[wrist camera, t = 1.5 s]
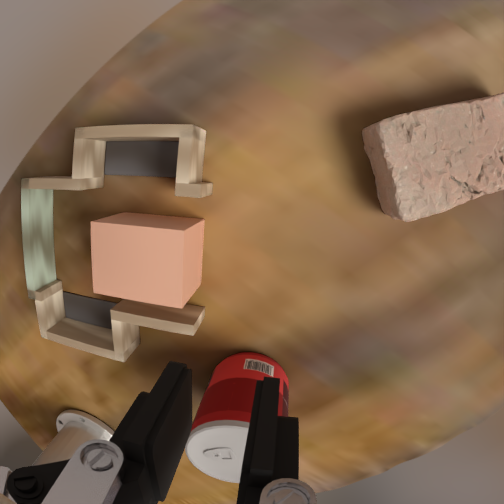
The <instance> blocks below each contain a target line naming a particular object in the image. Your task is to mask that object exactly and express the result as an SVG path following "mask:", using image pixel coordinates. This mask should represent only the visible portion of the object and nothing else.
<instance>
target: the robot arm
mask: <svg viewBox="0 0 504 504" xmlns="http://www.w3.org/2000/svg"><path fill="white" fill-rule="evenodd" d="M279 388H280V378H274V377H265V376H264V379H263V380H257V382H256V388H255V394H254V400H253V406H252V412H251V418H250V423H249V429H248V435H247V440H246V446H245V451H244V457H243V463H242V469H241V476H240V483H239V490H238V498H237V504H317V500H316V495H315V492H314V491H313V489H312V488H311V487H310V486H309V485H308V484H306V483H304V482H302V481H300V480H298V472H299V422H298V418H296V417H285V416H278V404H279ZM56 426H57V430H58V432H59V433H58V434H57V435H56V436H55V437H54V439H53V440H52V441H51V442H50V444H49V445H48V446H47V447H46V449H45V450H44V451H43V452H42V454H41V455H40V456H39V457H38V458H37V460H36V461H35V462H34V464H33V465H32V466H30V467H22V468H19V469H16V470H15V471H10V469H9V468H7V467H2V466H0V504H157V503H158V501H162V502H163V501H164V500H165V498H166V495H167V493H168V490H169V488H170V485H171V482H172V480H173V477H174V475H175V472H176V469H177V467H178V464H179V462H180V459H181V456H182V454H183V451H184V448H185V446H186V443H187V441H188V438H189V435H190V433H191V429H192V370H191V369H187V365H186V364H183V363H178V362H173V361H170V362H169V363H168V364H167V366H166V368H165V369H164V371H163V373H162V374H161V376H160V377H159V379H158V381H157V382H156V384H155V386H154V387H153V389H152V390H151V392H150V393H147V392H141V393H140V394H139V395H138V397H137V398H136V400H135V401H134V403H133V404H132V406H131V407H130V409H129V410H128V412H127V414H126V415H125V417H124V418H123V420H122V421H121V423H120V424H119V426H118V427H117V429H116V431H115V432H114V431H113V430H112V429H111V428H110V427H108V426H107V425H106V424H105V423H103V422H102V421H100V420H99V419H97V418H95V417H93V416H91V415H89V414H87V413H85V412H82V411H78V410H71V409H70V410H65V411H63V412H62V413H61V414H60V415H59V416H58V417H57V420H56Z"/></svg>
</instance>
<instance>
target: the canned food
mask: <svg viewBox="0 0 504 504" xmlns="http://www.w3.org/2000/svg"><path fill="white" fill-rule="evenodd" d="M264 376H265V377H274V378H280V388H279V404H278V416H285V417H288V391H289V382H288V379H287V376H286V374H285V372H284V370H283V369H282V367H281V366H280V365H279V364H278V363H277V362H276V361H274V360H273V359H272V358H270V357H268V356H265V355H262V354H259V353H253V352H243V353H237V354H234V355H231V356H229V357H227V358H225V359H224V360H223V361H222V362H221V363H219V364H218V365H217V366H216V368H215V369H214V370H213V373H212V375H211V378H210V380H209V383H208V385H207V388H206V391H205V393H204V396H203V398H202V401H201V403H200V406H199V408H198V411H197V413H196V416H195V419H194V421H193V424H192V429H191V433H190V435H189V438H188V441H187V443H186V446H185V451H186V454H187V457H188V458H189V460H190V462H191V463H192V464H193V465H194V466H195V467H196V468H198V469H199V470H200V471H202V472H204V473H205V474H207V475H209V476H211V477H214V478H216V479H220V480H223V481H228V482H233V483H240V476H241V469H242V463H243V457H244V451H245V446H246V440H247V435H248V429H249V423H250V418H251V412H252V406H253V400H254V394H255V388H256V382H257V380H263V379H264Z"/></svg>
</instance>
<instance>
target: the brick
mask: <svg viewBox="0 0 504 504" xmlns="http://www.w3.org/2000/svg"><path fill="white" fill-rule="evenodd" d="M362 137H363V142H364V150H365V152H366V154H367V155H368V158H369V159H370V163H371V166H372V170H373V174H374V175H375V178H376V180H375V183H376V187H377V196H378V199H379V201H380V205H381V209H382V210H383V212H384V213H385V214H386V215H389V216H391V217H392V218H393V219H400V220H404V221H405V222H410V221H414V220H417V219H419V218H422V217H428V216H431V215H433V214H438V213H441V212H445V211H447V210H449V209H451V208H453V207H455V206H457V205H460V204H464V203H465V202H467V201H469V200H473V199H476V198H478V197H480V196H482V195H485V194H491V193H494V192H497V191H501V190H504V93H501V94H497V95H492V96H487V97H483V98H478V99H472V100H467V101H461V102H456V103H451V104H445V105H439V106H433V107H429V108H425V109H421V110H416V111H413V112H408V113H404V114H399V115H396V116H393V117H389V118H386V119H383V120H381V121H379V122H377V123H374V124H371V125H370V126H368V127H365V128H364V129H363V130H362Z"/></svg>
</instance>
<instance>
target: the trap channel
mask: <svg viewBox="0 0 504 504" xmlns="http://www.w3.org/2000/svg"><path fill="white" fill-rule="evenodd" d="M205 139H206V131H205V130H203V129H201V128H199V127H197V126H195V125H190V124H139V125H111V126H94V127H80V128H75V138H74V150H73V166H72V176H45V177H33V178H23V179H21V217H22V239H23V253H24V264H25V273H26V282H27V289H28V296H29V298H31V299H34V300H35V304H36V310H37V316H38V322H39V328H40V333H41V337H43V338H46V339H49V340H52V341H55V342H58V343H61V344H64V345H67V346H70V347H73V348H76V349H79V350H83V351H86V352H89V353H93V354H96V355H100V356H103V357H107V358H110V359H114V360H118V361H121V362H125V361H126V360H127V358H128V357H129V356H130V355H131V354H132V352H133V351H134V350H135V349H136V348H137V346H138V345H139V344H140V333H139V326H144V327H149V328H154V329H159V330H164V331H169V332H175V333H180V334H186V335H191V336H194V334H195V332H196V331H197V329H198V327H199V325H200V324H201V322H202V320H203V318H204V317H205V307H202V306H195V305H189V304H185V305H184V307H183V308H182V309H181V308H174V307H168V306H162V305H156V304H151V303H145V302H139V301H134V300H129V299H123V300H121V301H120V302H119V303H114V302H109V301H104V300H100V299H95V298H90V297H86V296H81V295H77V294H73V293H68V292H63V290H62V281H60V280H56V269H55V255H54V236H53V189H57V190H86V189H94V188H102V187H103V182H104V164H105V175H134V176H157V177H175V178H176V185H175V196H183V197H195V198H201V197H205V196H208V195H212V188H213V183H208V182H202V173H203V161H204V150H205ZM106 141H108V142H107V146H106ZM175 141H179V142H175ZM105 150H106V159H105ZM63 298H64V299H63ZM64 306H65V307H64ZM65 314H66V315H65Z"/></svg>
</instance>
